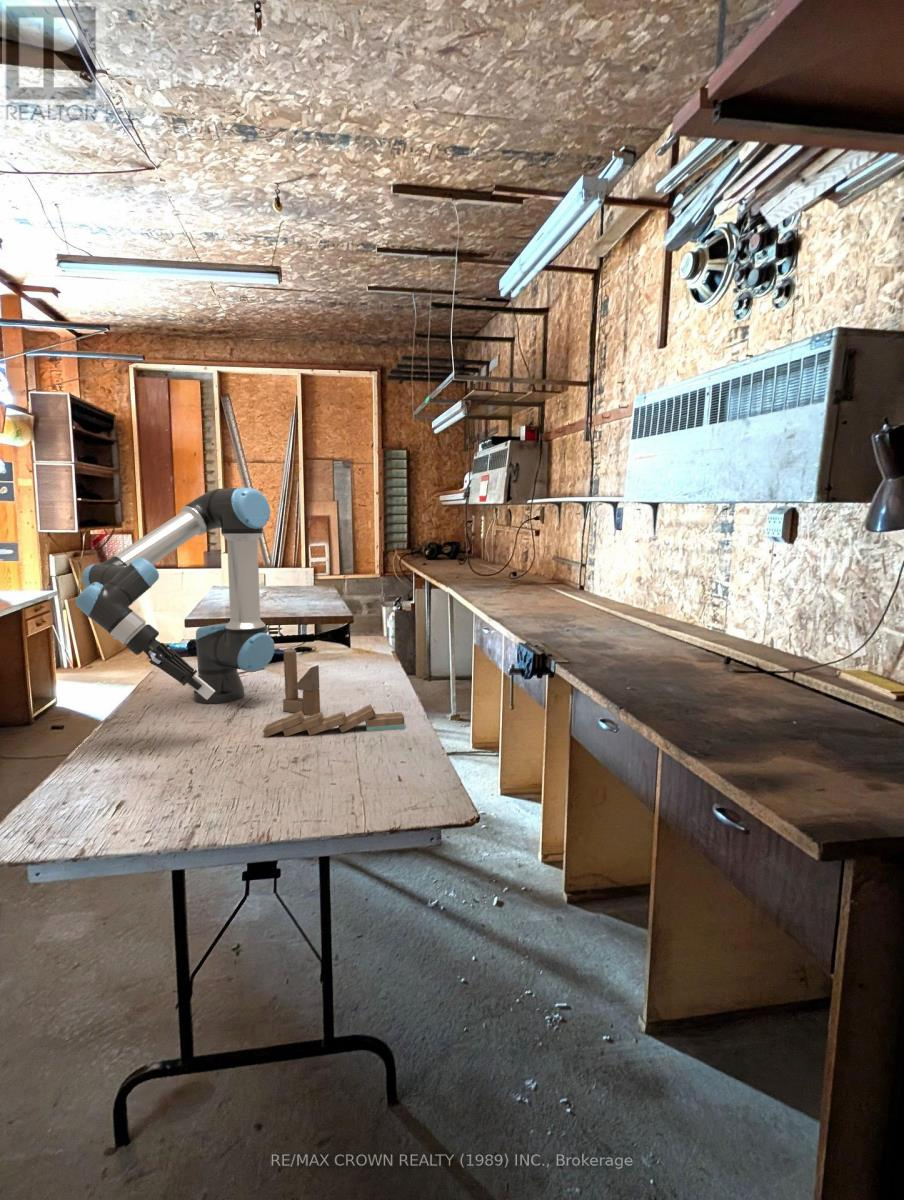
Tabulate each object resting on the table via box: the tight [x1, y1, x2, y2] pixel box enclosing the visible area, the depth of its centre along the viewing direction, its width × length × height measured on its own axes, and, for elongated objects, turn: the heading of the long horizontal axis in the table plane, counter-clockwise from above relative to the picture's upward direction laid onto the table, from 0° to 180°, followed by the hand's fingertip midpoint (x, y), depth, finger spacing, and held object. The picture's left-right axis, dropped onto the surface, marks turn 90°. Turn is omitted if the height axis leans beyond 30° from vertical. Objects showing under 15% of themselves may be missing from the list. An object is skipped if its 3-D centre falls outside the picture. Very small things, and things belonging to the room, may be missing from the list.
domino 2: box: [282, 711, 325, 737], centre depth 172 cm, size 5×2×10 cm
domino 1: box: [262, 711, 305, 738], centre depth 171 cm, size 5×2×10 cm
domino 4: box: [338, 703, 377, 734], centre depth 175 cm, size 5×2×10 cm
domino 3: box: [306, 711, 347, 737], centre depth 173 cm, size 5×2×10 cm
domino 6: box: [365, 723, 405, 732], centre depth 176 cm, size 5×2×10 cm
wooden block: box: [282, 649, 321, 716], centre depth 189 cm, size 4×11×18 cm, turn 66°
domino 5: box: [364, 711, 405, 727], centre depth 176 cm, size 5×2×10 cm
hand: (211, 695), depth 167 cm, fingers closed
